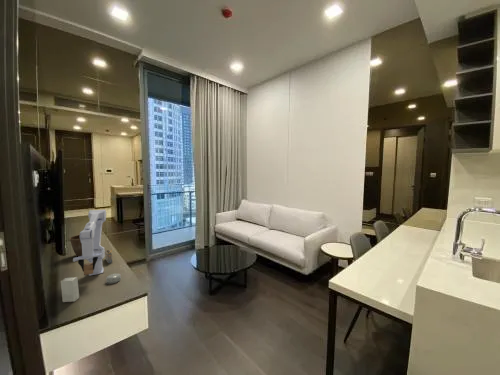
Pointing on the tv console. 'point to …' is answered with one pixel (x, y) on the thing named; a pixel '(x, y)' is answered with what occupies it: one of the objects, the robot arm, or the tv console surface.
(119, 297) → the tv console surface
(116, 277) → the pale grey round disc
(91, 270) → the walnut block
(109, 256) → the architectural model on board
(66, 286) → the skincare box
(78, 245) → the plant pot
